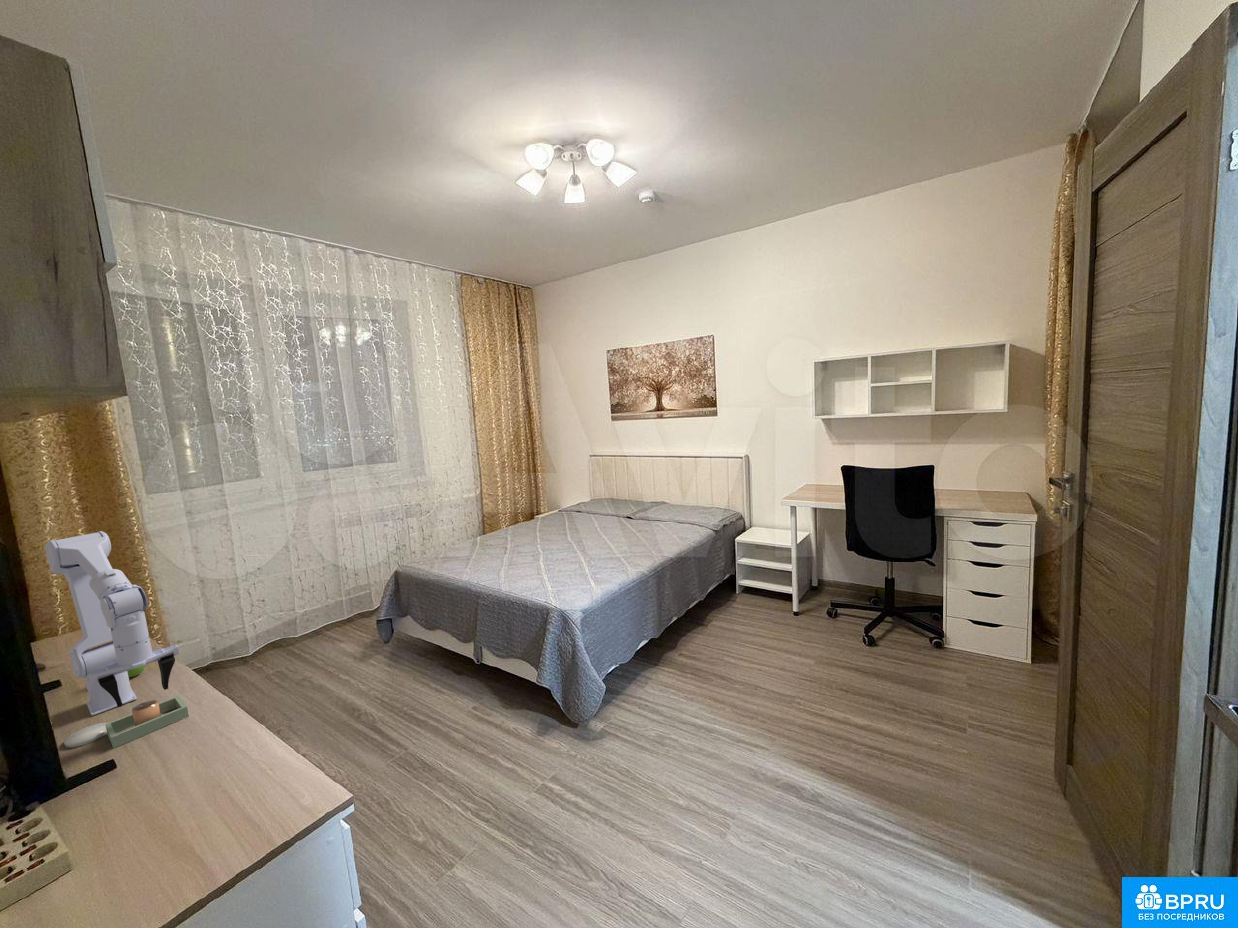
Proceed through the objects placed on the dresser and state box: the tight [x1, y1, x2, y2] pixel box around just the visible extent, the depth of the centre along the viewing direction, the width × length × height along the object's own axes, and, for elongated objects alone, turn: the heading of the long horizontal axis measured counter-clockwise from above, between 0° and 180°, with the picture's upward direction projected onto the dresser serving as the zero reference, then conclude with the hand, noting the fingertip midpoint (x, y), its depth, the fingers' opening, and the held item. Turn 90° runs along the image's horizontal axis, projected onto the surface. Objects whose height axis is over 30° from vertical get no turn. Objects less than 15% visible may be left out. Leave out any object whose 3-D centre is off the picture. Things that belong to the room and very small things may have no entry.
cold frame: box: [105, 695, 190, 749], centre depth 111 cm, size 9×13×2 cm
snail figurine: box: [127, 665, 146, 678], centre depth 134 cm, size 5×6×12 cm
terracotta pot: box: [131, 699, 162, 727], centre depth 111 cm, size 4×4×5 cm
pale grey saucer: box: [63, 722, 108, 749], centre depth 109 cm, size 7×7×1 cm
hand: (143, 696), depth 111 cm, fingers open, 7 cm apart
